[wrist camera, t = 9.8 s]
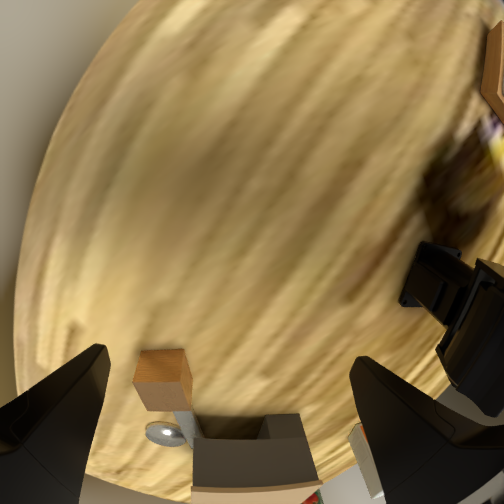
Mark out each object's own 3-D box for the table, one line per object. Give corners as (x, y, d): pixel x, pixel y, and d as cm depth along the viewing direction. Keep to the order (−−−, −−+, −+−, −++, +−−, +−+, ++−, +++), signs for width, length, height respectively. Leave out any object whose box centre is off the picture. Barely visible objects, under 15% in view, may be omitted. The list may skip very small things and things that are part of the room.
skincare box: (389, 414, 32) (422, 473, 21) (379, 429, 33) (407, 485, 22) (355, 423, 31) (384, 490, 20) (346, 438, 33) (370, 500, 21)
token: (185, 422, 27) (184, 429, 26) (187, 441, 29) (187, 448, 28) (143, 417, 26) (142, 424, 25) (150, 437, 28) (149, 444, 27)
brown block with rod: (183, 348, 23) (180, 381, 19) (214, 441, 29) (215, 467, 25) (141, 350, 22) (132, 382, 19) (184, 442, 29) (183, 467, 25)
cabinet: (301, 412, 28) (323, 484, 19) (278, 454, 32) (290, 511, 22) (192, 411, 26) (191, 491, 17) (191, 453, 30) (191, 514, 20)
